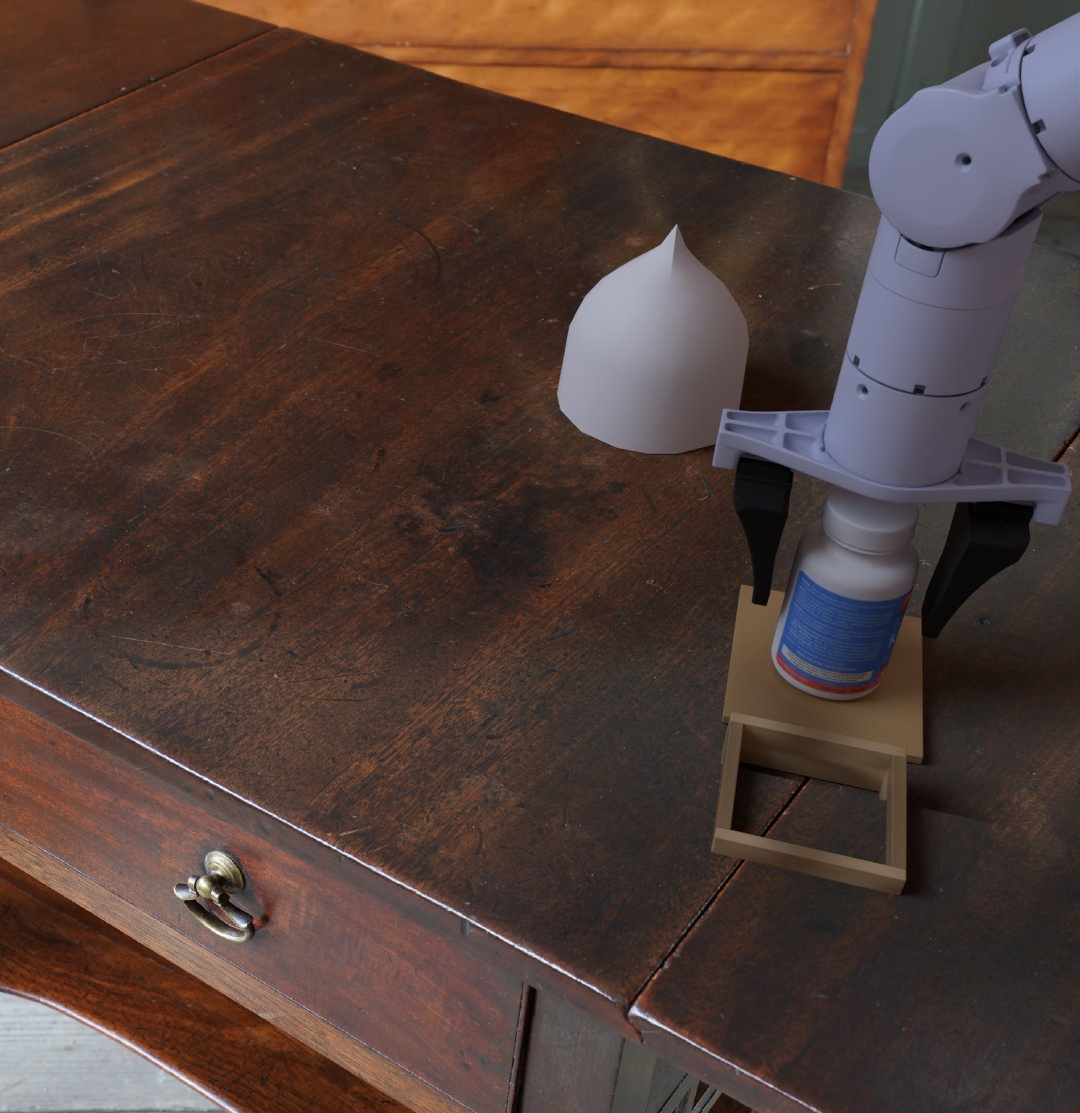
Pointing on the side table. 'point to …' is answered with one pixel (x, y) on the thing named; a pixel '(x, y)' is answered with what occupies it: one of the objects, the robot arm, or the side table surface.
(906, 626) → the pad
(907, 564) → the pill bottle
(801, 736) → the frame
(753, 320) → the side table surface
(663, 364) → the teardrop
